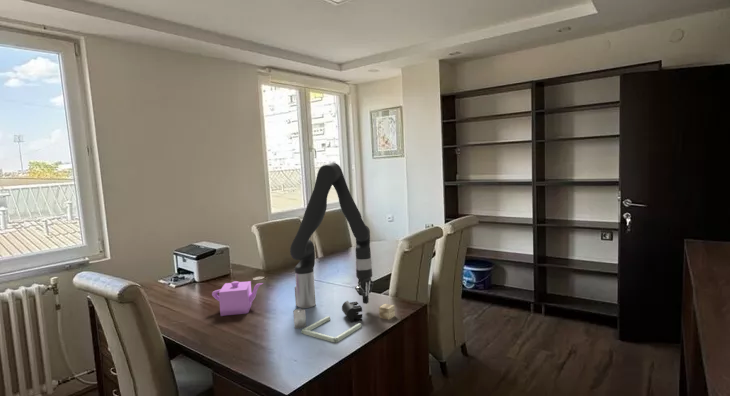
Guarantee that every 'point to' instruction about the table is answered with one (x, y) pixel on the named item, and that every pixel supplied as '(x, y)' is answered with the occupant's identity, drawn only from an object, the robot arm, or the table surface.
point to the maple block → (386, 311)
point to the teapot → (235, 297)
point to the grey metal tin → (299, 318)
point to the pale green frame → (326, 337)
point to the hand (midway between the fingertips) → (365, 303)
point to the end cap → (352, 311)
